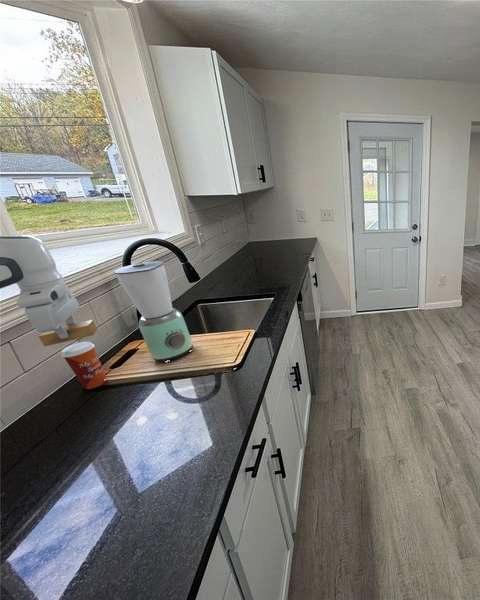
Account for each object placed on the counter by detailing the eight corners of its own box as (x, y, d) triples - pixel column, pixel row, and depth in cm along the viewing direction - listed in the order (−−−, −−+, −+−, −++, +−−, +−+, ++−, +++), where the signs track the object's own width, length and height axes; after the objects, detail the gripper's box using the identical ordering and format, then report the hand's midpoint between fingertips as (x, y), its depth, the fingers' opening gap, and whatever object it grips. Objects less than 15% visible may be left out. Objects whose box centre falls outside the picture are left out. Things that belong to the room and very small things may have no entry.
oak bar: (44, 346, 92) (38, 336, 90) (51, 339, 96) (45, 329, 94) (92, 335, 96) (87, 325, 95) (97, 329, 101) (92, 319, 99)
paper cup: (96, 390, 99) (76, 352, 93) (73, 391, 99) (51, 354, 94) (117, 375, 106) (99, 339, 101) (95, 376, 106) (76, 340, 101)
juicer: (204, 350, 118) (172, 260, 105) (165, 369, 108) (124, 272, 94) (180, 339, 128) (147, 256, 114) (141, 356, 117) (101, 266, 104)
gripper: (46, 283, 97) (68, 323, 102) (13, 304, 81) (40, 350, 86) (73, 279, 100) (93, 318, 105) (46, 298, 83) (71, 343, 89)
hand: (69, 333), depth 95 cm, fingers closed on oak bar, 5 cm apart
